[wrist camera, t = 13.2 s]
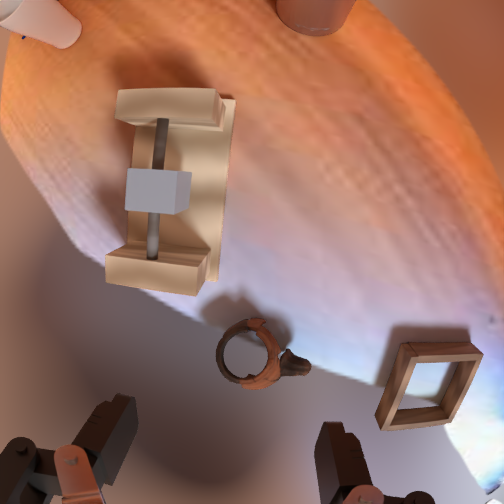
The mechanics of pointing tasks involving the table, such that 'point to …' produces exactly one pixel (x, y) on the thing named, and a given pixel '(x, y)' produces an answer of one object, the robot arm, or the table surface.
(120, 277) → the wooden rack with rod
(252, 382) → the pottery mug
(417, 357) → the open wooden frame
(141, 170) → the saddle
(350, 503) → the robot arm
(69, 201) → the table surface
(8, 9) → the drinking glass
